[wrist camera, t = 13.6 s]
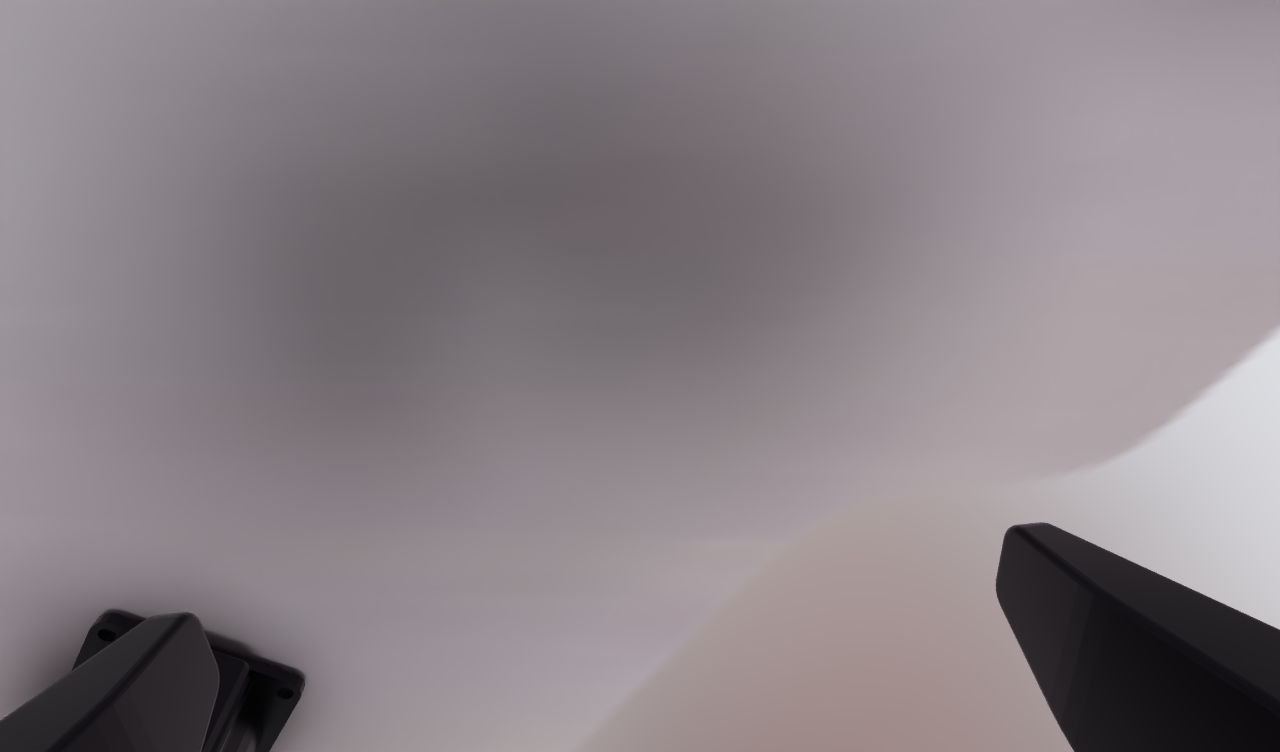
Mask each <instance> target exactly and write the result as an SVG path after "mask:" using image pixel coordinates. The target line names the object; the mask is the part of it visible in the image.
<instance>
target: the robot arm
mask: <svg viewBox="0 0 1280 752" xmlns="http://www.w3.org/2000/svg"><path fill="white" fill-rule="evenodd" d="M996 592H997V597H998V600H999V603H1000V606H1001V608H1002V610H1003V612H1004V614H1005V616H1006V618H1007V620H1008V622H1009V624H1010V626H1011V629H1012V630H1013V633H1014V635H1015V637H1016V639H1017V641H1018V643H1019V645H1020V647H1021V649H1022V651H1023V653H1024V655H1025V658H1026V659H1027V662H1028V664H1029V666H1030V668H1031V670H1032V672H1033V674H1034V676H1035V678H1036V680H1037V682H1038V685H1039V687H1040V689H1041V691H1042V693H1043V695H1044V697H1045V699H1046V701H1047V703H1048V705H1049V707H1050V709H1051V711H1052V713H1053V715H1054V717H1055V719H1056V720H1057V723H1058V724H1059V726H1060V728H1061V730H1062V732H1063V733H1064V735H1065V736H1066V738H1067V740H1068V742H1069V744H1070V745H1071V747H1072V749H1073V750H1074V752H1280V630H1279V629H1277V628H1275V627H1273V626H1270V625H1268V624H1266V623H1264V622H1262V621H1260V620H1257V619H1255V618H1253V617H1251V616H1249V615H1247V614H1244V613H1242V612H1240V611H1238V610H1235V609H1234V608H1231V607H1229V606H1227V605H1225V604H1223V603H1220V602H1218V601H1216V600H1213V599H1212V598H1210V597H1207V596H1205V595H1203V594H1201V593H1199V592H1197V591H1194V590H1192V589H1190V588H1188V587H1186V586H1183V585H1181V584H1179V583H1177V582H1175V581H1172V580H1170V579H1168V578H1166V577H1164V576H1162V575H1159V574H1157V573H1155V572H1153V571H1151V570H1149V569H1147V568H1144V567H1142V566H1140V565H1138V564H1136V563H1133V562H1131V561H1129V560H1127V559H1125V558H1123V557H1120V556H1118V555H1116V554H1114V553H1112V552H1110V551H1107V550H1105V549H1103V548H1101V547H1098V546H1097V545H1094V544H1092V543H1090V542H1088V541H1085V540H1084V539H1081V538H1079V537H1077V536H1075V535H1073V534H1070V533H1068V532H1066V531H1064V530H1062V529H1060V528H1058V527H1055V526H1053V525H1051V524H1048V523H1030V524H1021V525H1014V526H1012V527H1010V528H1009V529H1008V530H1007V532H1006V533H1005V536H1004V540H1003V545H1002V551H1001V556H1000V562H999V567H998V572H997V578H996ZM108 629H110V630H112V631H114V632H111V631H110V630H108ZM304 686H305V683H304V680H303V679H302V678H301V677H300V676H299V675H297V674H295V673H292V672H289V671H286V670H283V669H280V668H277V667H274V666H271V665H268V664H265V663H262V662H259V661H256V660H253V659H250V658H247V657H244V656H241V655H238V654H235V653H232V652H229V651H226V650H223V649H220V648H217V647H214V646H211V645H209V643H208V640H207V637H206V635H205V632H204V630H203V627H202V625H201V623H200V621H199V619H198V618H197V617H196V616H195V615H194V614H192V613H189V612H182V613H173V614H163V615H156V616H152V617H150V618H148V619H146V620H144V621H143V622H140V621H137V620H134V619H131V618H128V617H125V616H122V615H119V614H114V613H109V614H104V615H102V616H100V617H99V618H98V619H97V621H96V622H95V623H94V624H93V626H92V627H91V628H90V630H89V632H88V634H87V637H86V639H85V641H84V644H83V646H82V648H81V650H80V653H79V655H78V657H77V660H76V662H75V664H74V666H73V669H72V671H71V672H70V673H68V674H67V675H65V676H64V677H63V678H61V679H60V680H58V681H57V682H55V683H54V684H53V685H51V686H50V687H48V688H47V689H45V690H44V691H42V692H41V693H40V694H38V695H37V696H35V697H34V698H32V699H31V700H30V701H28V702H27V703H25V704H24V705H22V706H21V707H20V708H18V709H17V710H15V711H14V712H12V713H11V714H9V715H8V716H7V717H5V718H4V719H2V720H1V721H0V752H269V751H270V749H271V747H272V745H273V744H274V742H275V740H276V739H277V737H278V735H279V734H280V732H281V730H282V728H283V727H284V725H285V723H286V722H287V720H288V718H289V717H290V715H291V713H292V711H293V710H294V708H295V706H296V705H297V703H298V701H299V699H300V697H301V695H302V692H303V690H304ZM285 688H289V689H285Z"/></svg>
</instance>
